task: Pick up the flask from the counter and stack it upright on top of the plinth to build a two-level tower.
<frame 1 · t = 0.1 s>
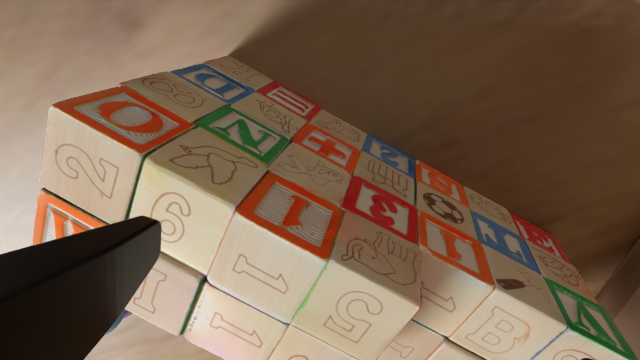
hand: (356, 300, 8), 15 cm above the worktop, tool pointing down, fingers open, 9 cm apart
stack of blocks: (366, 184, 23), on the worktop
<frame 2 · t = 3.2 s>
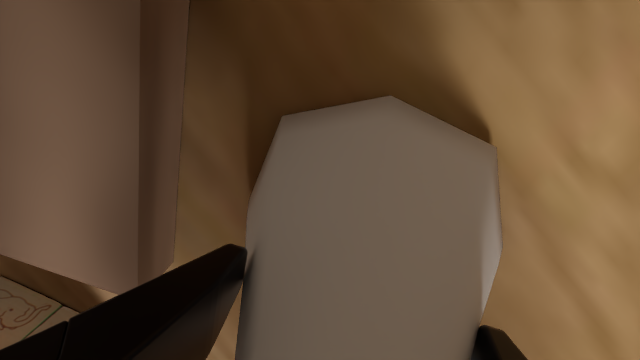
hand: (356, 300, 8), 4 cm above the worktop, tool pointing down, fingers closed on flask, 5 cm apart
plinth: (29, 84, 12), on the worktop
flask: (371, 214, 11), on the worktop, touching gripper
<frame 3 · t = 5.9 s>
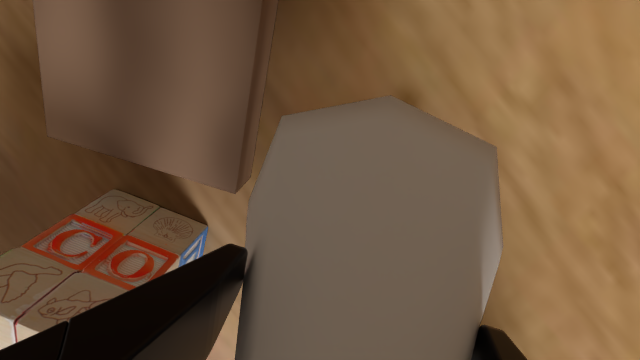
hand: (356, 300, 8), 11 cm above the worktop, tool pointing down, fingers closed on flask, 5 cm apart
plinth: (166, 55, 18), on the worktop
stack of blocks: (146, 325, 27), on the worktop
flask: (371, 214, 11), point 7 cm above the worktop, touching gripper
when the fingers open (6 cm above the worktop, at t = 8.8 s): flask stays where it is, resting on plinth.
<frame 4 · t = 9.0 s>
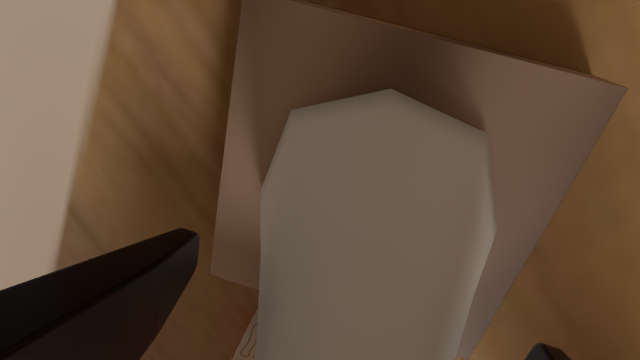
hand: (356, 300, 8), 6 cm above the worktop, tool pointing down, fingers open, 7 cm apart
plinth: (376, 176, 14), on the worktop
flask: (374, 200, 12), point 2 cm above the worktop, touching plinth
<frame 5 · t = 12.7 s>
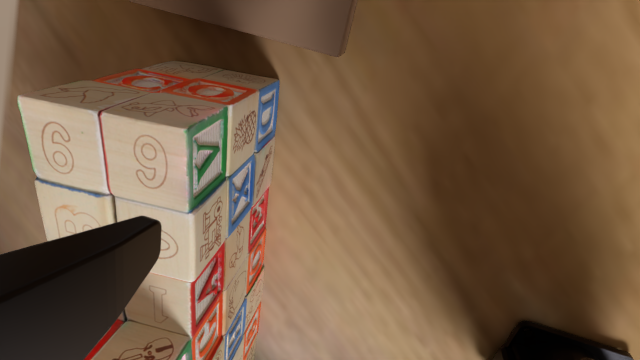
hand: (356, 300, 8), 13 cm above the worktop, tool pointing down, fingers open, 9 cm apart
stack of blocks: (222, 233, 25), on the worktop
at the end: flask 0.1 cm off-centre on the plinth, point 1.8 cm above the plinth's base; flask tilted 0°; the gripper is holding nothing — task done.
